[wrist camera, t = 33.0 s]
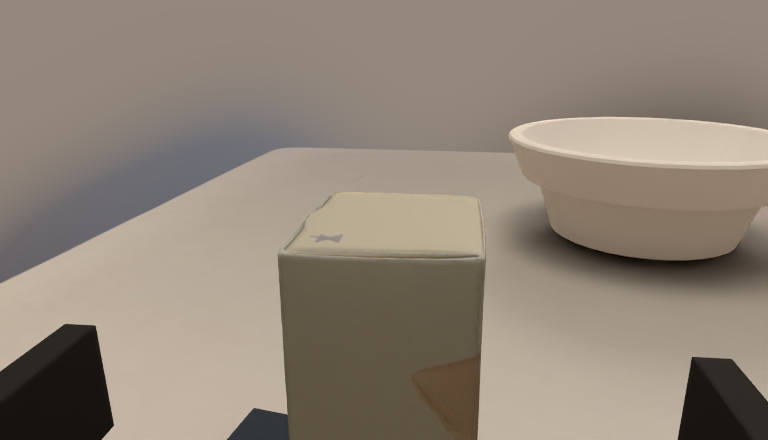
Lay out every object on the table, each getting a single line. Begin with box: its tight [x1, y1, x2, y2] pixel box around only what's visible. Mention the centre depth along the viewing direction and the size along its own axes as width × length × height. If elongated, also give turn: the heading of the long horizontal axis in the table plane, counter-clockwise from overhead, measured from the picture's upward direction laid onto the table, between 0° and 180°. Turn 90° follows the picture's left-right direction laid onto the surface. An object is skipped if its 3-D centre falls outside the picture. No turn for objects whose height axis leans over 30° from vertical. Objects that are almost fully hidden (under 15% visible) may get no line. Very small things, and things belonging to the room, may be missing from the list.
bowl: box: [509, 117, 768, 260], centre depth 45 cm, size 21×21×8 cm
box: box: [278, 192, 486, 440], centre depth 15 cm, size 5×4×11 cm
